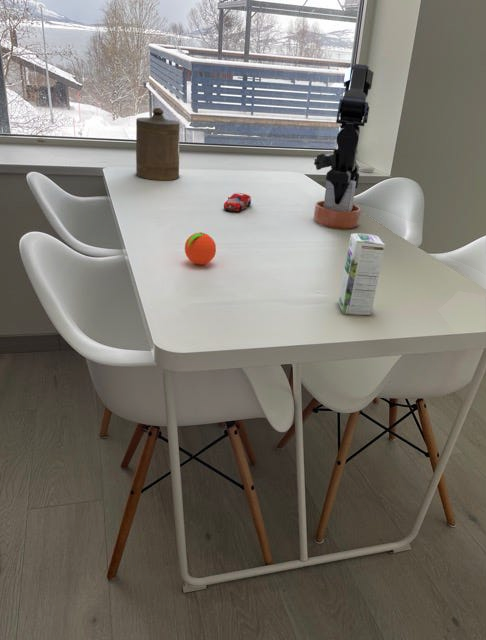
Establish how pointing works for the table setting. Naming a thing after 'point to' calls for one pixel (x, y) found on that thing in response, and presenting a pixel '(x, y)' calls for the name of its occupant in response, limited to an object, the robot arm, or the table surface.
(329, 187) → the medicine box
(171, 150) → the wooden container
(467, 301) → the table surface
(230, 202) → the race car
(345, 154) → the robot arm
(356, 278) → the syrup box
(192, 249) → the clementine
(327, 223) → the bowl
